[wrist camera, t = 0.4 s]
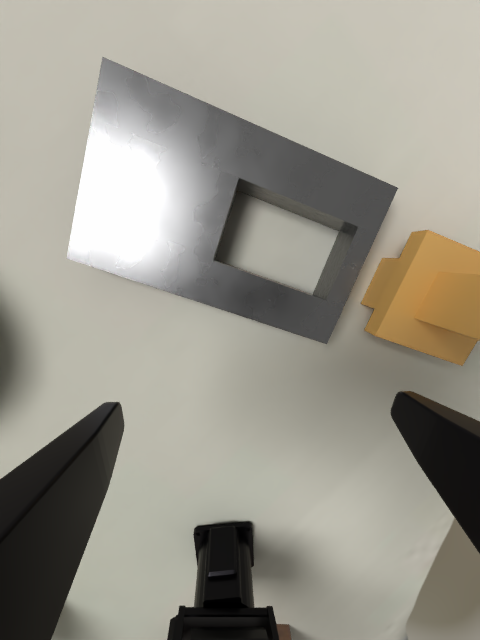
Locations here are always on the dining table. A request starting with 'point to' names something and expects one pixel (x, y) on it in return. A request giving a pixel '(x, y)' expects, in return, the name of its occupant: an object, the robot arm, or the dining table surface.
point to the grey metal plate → (211, 202)
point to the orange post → (428, 297)
